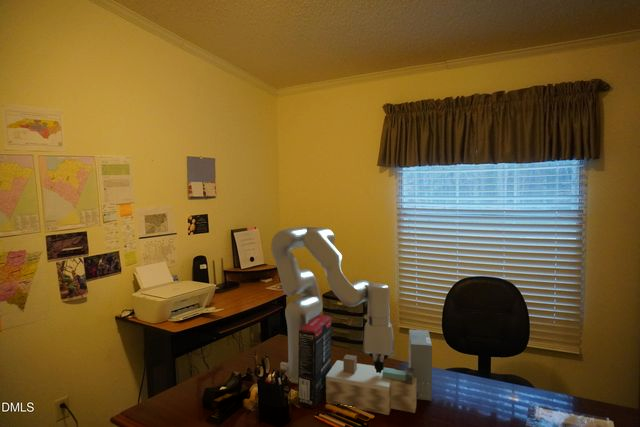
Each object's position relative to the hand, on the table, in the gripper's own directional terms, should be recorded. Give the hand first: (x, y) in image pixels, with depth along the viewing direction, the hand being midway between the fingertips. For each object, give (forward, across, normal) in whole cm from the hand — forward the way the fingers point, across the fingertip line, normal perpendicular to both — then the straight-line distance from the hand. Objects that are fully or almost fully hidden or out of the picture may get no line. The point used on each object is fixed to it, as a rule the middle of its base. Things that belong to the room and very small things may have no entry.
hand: (379, 371), depth 127 cm
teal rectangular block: (+1, +6, 0) cm, 7 cm away
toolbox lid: (+3, -7, 0) cm, 7 cm away
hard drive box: (+11, +12, +14) cm, 22 cm away
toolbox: (+11, -3, 0) cm, 11 cm away
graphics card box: (+11, -23, -4) cm, 25 cm away
